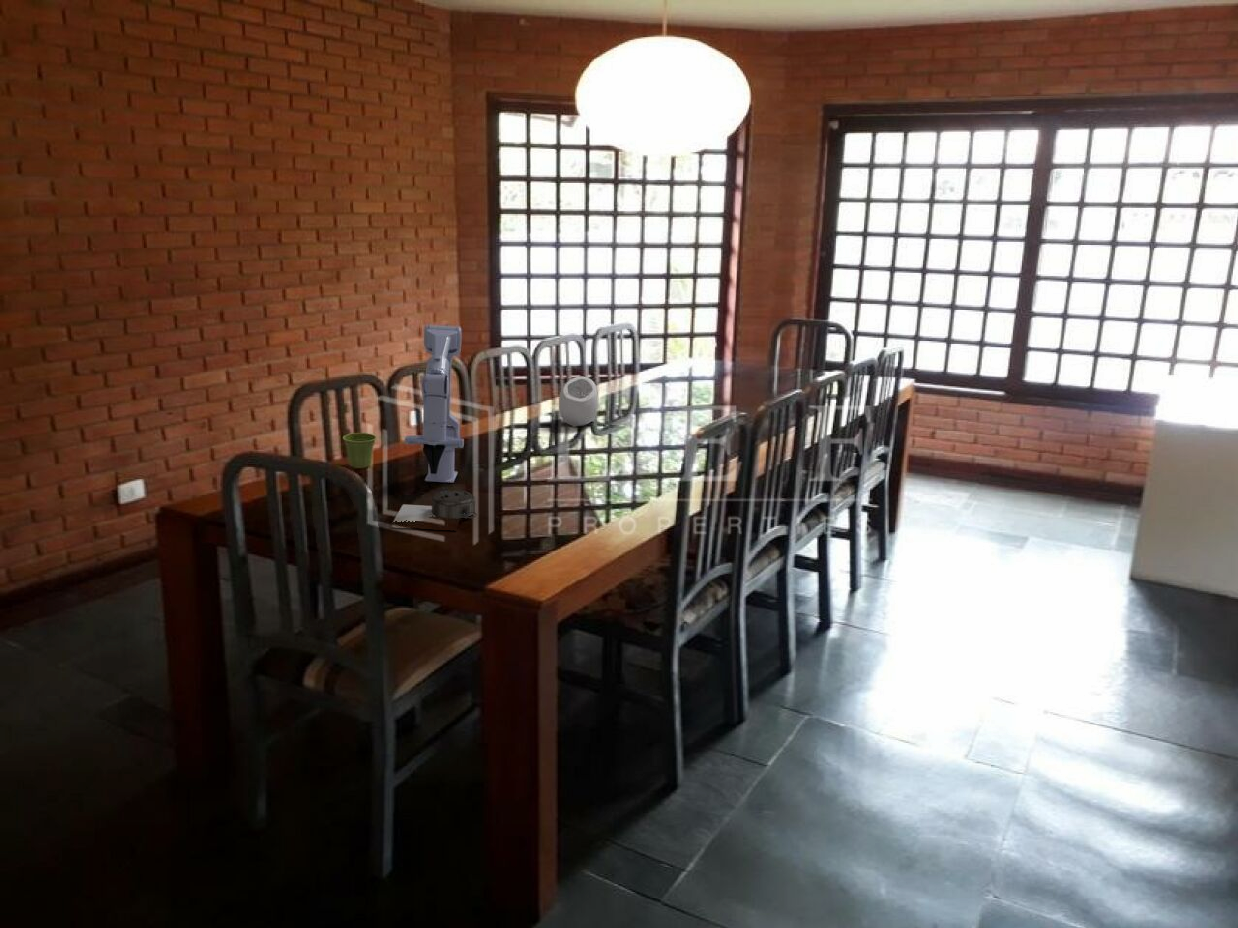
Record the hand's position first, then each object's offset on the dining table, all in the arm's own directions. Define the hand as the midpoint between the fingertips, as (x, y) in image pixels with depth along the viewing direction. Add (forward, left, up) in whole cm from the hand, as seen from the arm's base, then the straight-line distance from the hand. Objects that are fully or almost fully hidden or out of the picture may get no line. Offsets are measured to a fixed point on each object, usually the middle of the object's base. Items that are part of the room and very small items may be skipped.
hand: (434, 472), depth 243 cm
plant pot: (-34, -27, -10) cm, 44 cm away
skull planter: (-99, +36, -10) cm, 106 cm away
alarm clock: (-2, +1, -7) cm, 7 cm away
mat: (+7, 0, -10) cm, 12 cm away
